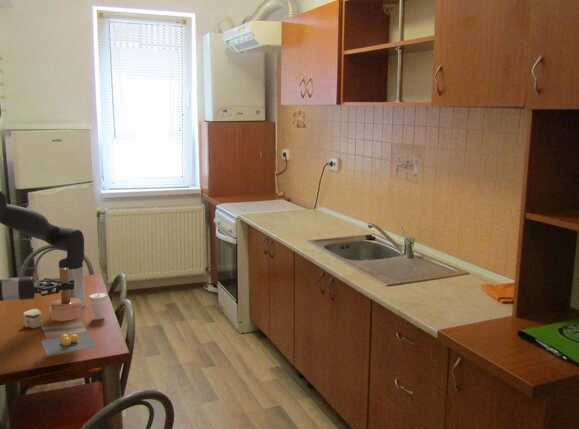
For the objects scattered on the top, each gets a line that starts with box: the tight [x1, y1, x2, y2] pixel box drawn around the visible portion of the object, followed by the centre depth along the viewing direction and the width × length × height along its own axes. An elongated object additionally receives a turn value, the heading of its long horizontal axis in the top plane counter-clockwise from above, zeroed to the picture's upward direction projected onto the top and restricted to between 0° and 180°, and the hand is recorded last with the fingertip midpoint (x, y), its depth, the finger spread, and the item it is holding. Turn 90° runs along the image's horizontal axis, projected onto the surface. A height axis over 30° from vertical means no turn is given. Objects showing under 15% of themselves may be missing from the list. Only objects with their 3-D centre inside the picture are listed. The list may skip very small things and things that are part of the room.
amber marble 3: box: [69, 334, 78, 343], centre depth 195 cm, size 3×3×3 cm
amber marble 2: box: [62, 337, 71, 346], centre depth 193 cm, size 3×3×3 cm
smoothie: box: [89, 283, 108, 320], centre depth 219 cm, size 6×6×14 cm
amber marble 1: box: [60, 334, 70, 342], centre depth 195 cm, size 3×3×3 cm
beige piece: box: [22, 308, 44, 329], centre depth 213 cm, size 10×9×6 cm
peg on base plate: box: [48, 268, 84, 322], centre depth 191 cm, size 10×10×17 cm
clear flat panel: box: [40, 319, 89, 340], centre depth 208 cm, size 14×14×1 cm
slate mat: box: [40, 332, 98, 357], centre depth 195 cm, size 15×16×1 cm
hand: (73, 284), depth 192 cm, fingers closed on peg on base plate, 3 cm apart
